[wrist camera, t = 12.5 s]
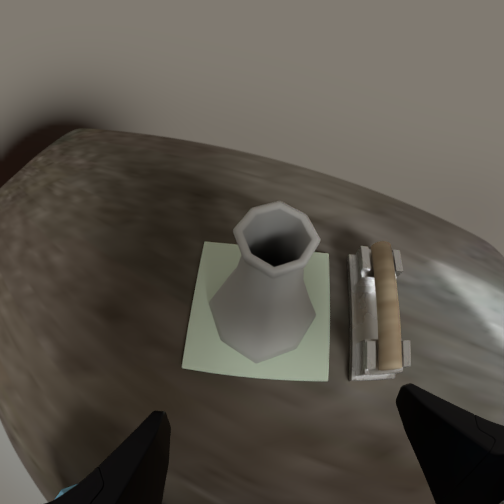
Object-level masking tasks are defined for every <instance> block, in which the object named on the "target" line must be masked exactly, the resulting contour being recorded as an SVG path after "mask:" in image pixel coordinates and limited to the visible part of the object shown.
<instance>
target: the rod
mask: <svg viewBox="0 0 504 504" xmlns="http://www.w3.org/2000/svg"><path fill="white" fill-rule="evenodd" d="M371 253H372V261H373V270H374V280H375V291H376V305H377V323H378V370H379V371H385V370H394V369H400V368H402V347H401V327H400V313H399V302H398V292H397V284H396V276H395V268H394V262H393V255H392V249H391V244H390V243H389V242H385V241H381V242H377V243H375V244H373V245H372V246H371Z"/></svg>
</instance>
